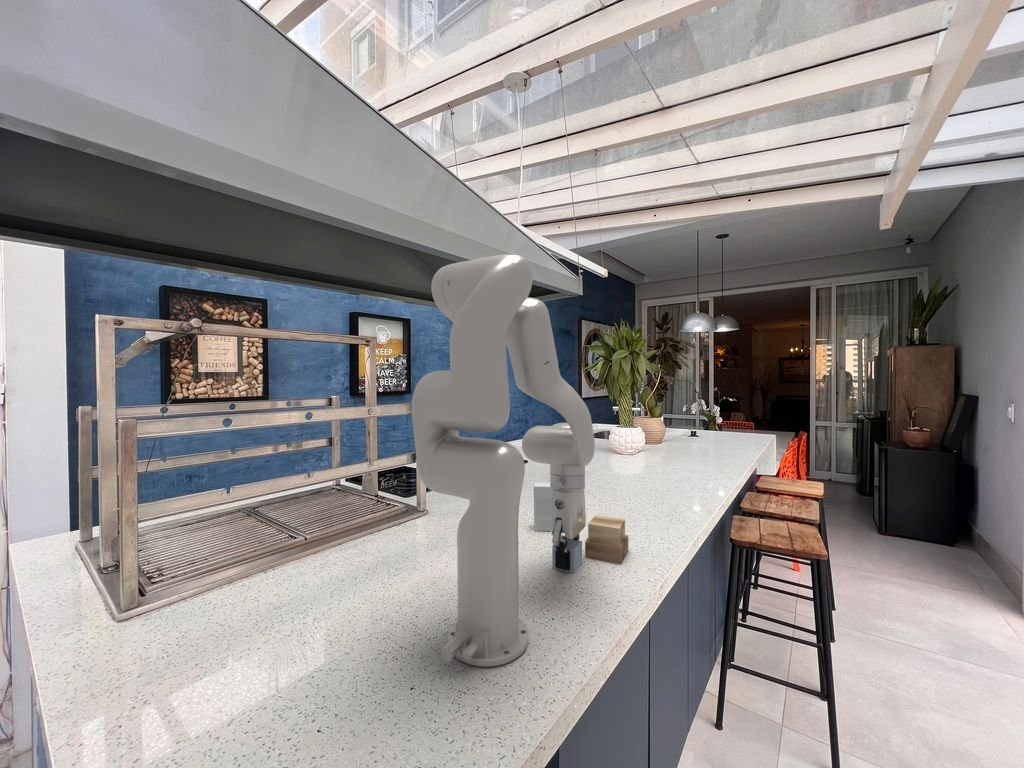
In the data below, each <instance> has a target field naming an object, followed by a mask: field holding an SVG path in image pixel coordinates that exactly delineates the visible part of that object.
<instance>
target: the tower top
mask: <svg viewBox="0 0 1024 768" xmlns="http://www.w3.org/2000/svg"><path fill="white" fill-rule="evenodd" d="M587 527H588V528H587V530H588V531H587V533H588V534H587V539H588V541H589V542H595V543H601V544H607V545H613V546H618V547H620V545H621V543H622V541H623V539H624V537H625V535H626V518H622V517H614V516H608V515H601V514H595V515H594V516H593V517H592V518H591V520H590V521H589V522H588V526H587Z"/></svg>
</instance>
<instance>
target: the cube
mask: <svg viewBox="0 0 1024 768" xmlns="http://www.w3.org/2000/svg"><path fill="white" fill-rule="evenodd" d="M561 541H562V542H564V544H565V539H561ZM551 547H552V551H551V552H552V555H551V556H552V565H551V566H552V569H554V570H559V571H562V572H567V573H572V574H575V573H576V572H577V571H578V570H579V568H580V567H581V566H582V565H583V541H582V540H579V541H578V540H573V539H570V540H569V551H570V570H569V571H567V570H562V569H558V568H556V567H555V546H554V544H553V543H552V546H551Z"/></svg>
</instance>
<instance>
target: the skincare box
mask: <svg viewBox="0 0 1024 768" xmlns="http://www.w3.org/2000/svg"><path fill="white" fill-rule="evenodd" d="M552 491H553V489H552V488H550V482H534V484H533V524H534V525H533V529H534V531H535V532H551V501H552Z"/></svg>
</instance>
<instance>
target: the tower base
mask: <svg viewBox="0 0 1024 768" xmlns="http://www.w3.org/2000/svg"><path fill="white" fill-rule="evenodd" d="M628 552H629V535H627V534H625V537H624V539H623V541H622V543H621V545H620V547H618V546H613V545H607V544H601V543H595V542H589V541H588V538H587V539H586V540H585V542H584V558H585V559H589V560H595V561H596V560H597V561H600V562H604V563H610V564H615V565H618V566H619V565H621V564H622V563H623V561H624V560H625V558H626V556H627V554H628Z"/></svg>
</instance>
